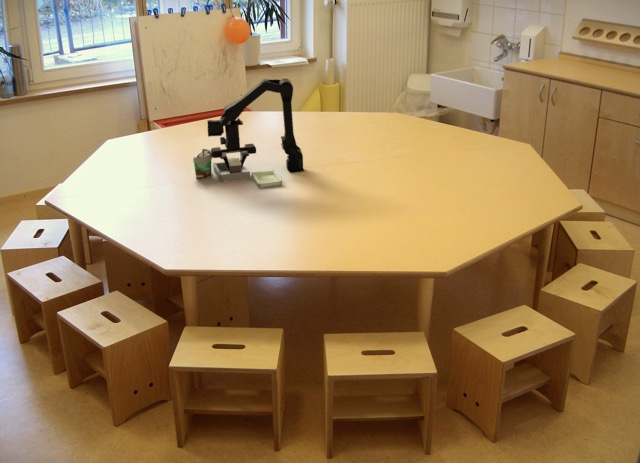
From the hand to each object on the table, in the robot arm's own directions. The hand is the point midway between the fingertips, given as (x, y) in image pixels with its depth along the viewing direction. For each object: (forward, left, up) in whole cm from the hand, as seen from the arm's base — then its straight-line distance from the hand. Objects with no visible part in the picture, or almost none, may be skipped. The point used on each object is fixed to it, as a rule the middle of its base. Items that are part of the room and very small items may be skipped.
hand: (234, 169), depth 329 cm
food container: (+12, -2, -2) cm, 12 cm away
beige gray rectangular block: (0, 0, -1) cm, 1 cm away
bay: (+1, 0, -2) cm, 2 cm away
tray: (-11, +13, -2) cm, 17 cm away
